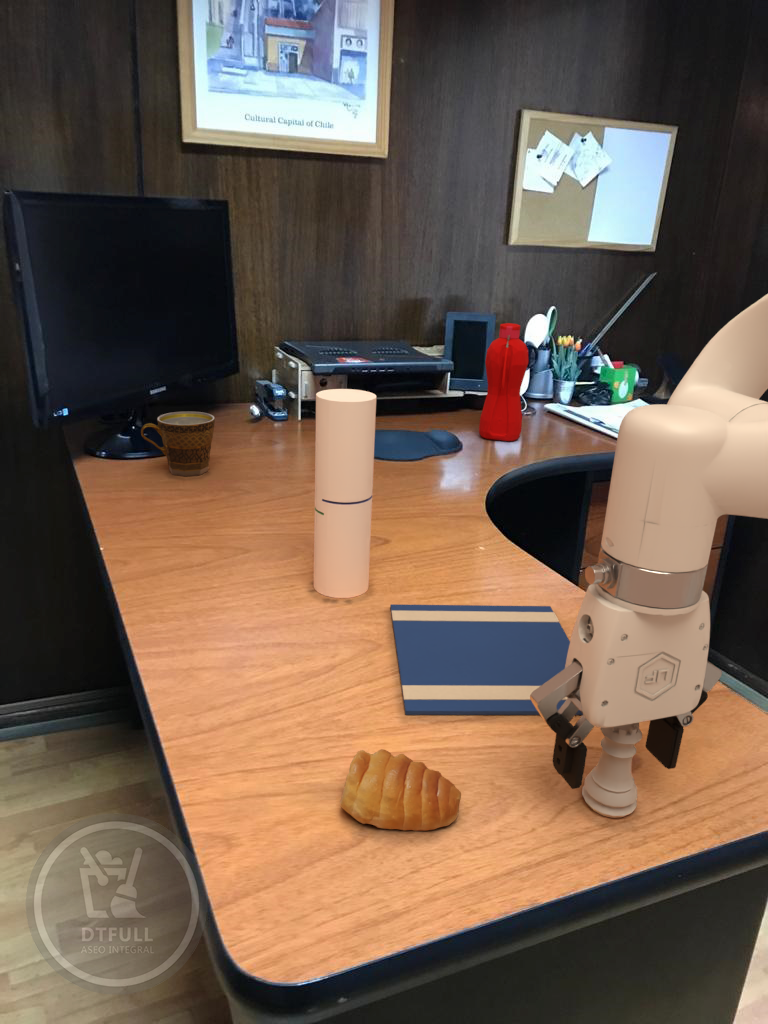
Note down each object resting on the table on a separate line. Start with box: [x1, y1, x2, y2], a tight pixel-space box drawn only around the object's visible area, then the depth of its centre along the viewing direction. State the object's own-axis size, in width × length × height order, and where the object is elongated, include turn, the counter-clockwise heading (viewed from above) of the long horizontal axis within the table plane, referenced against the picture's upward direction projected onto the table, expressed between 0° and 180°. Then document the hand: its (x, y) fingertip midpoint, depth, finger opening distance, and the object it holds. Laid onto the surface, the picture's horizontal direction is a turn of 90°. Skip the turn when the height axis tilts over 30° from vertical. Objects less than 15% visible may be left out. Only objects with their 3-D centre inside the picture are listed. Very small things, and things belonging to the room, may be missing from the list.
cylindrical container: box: [313, 388, 377, 599], centre depth 96 cm, size 7×7×25 cm
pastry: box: [339, 748, 462, 832], centre depth 62 cm, size 9×7×4 cm
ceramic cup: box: [140, 410, 216, 478], centre depth 139 cm, size 13×10×10 cm
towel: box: [389, 603, 583, 716], centre depth 85 cm, size 20×22×1 cm
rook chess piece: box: [581, 722, 643, 819], centre depth 63 cm, size 4×4×8 cm
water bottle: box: [478, 322, 529, 442], centre depth 169 cm, size 9×11×25 cm
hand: (614, 766), depth 63 cm, fingers open, 8 cm apart
